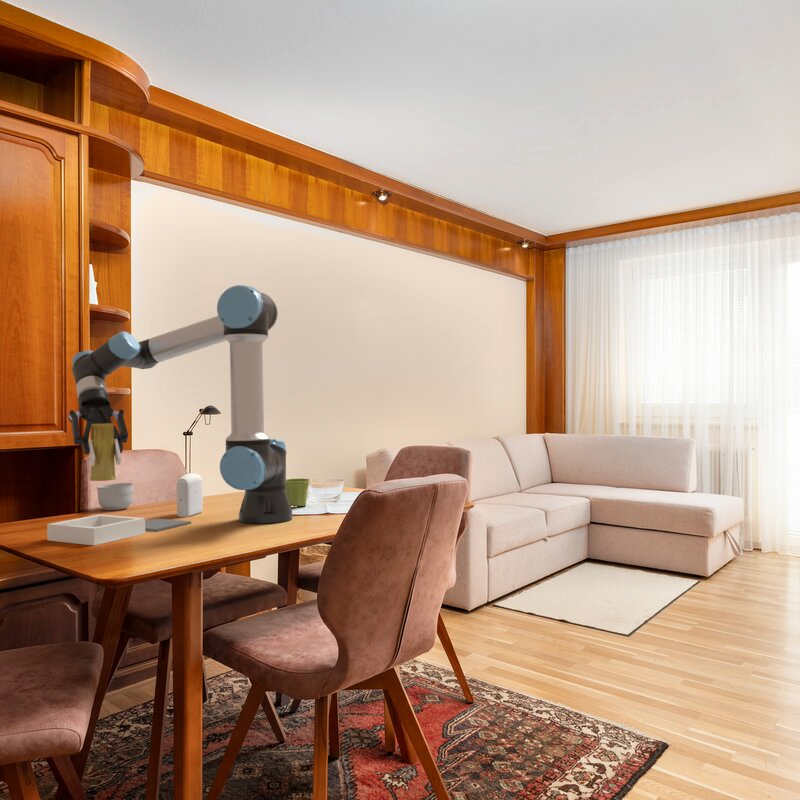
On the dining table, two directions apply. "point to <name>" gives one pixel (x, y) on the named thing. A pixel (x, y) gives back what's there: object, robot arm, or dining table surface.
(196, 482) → the photo printer
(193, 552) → the dining table surface
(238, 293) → the robot arm
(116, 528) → the tub
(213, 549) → the dining table surface
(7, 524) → the dining table surface
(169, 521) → the mat
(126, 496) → the teacup
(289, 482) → the plant pot
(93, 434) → the vase
